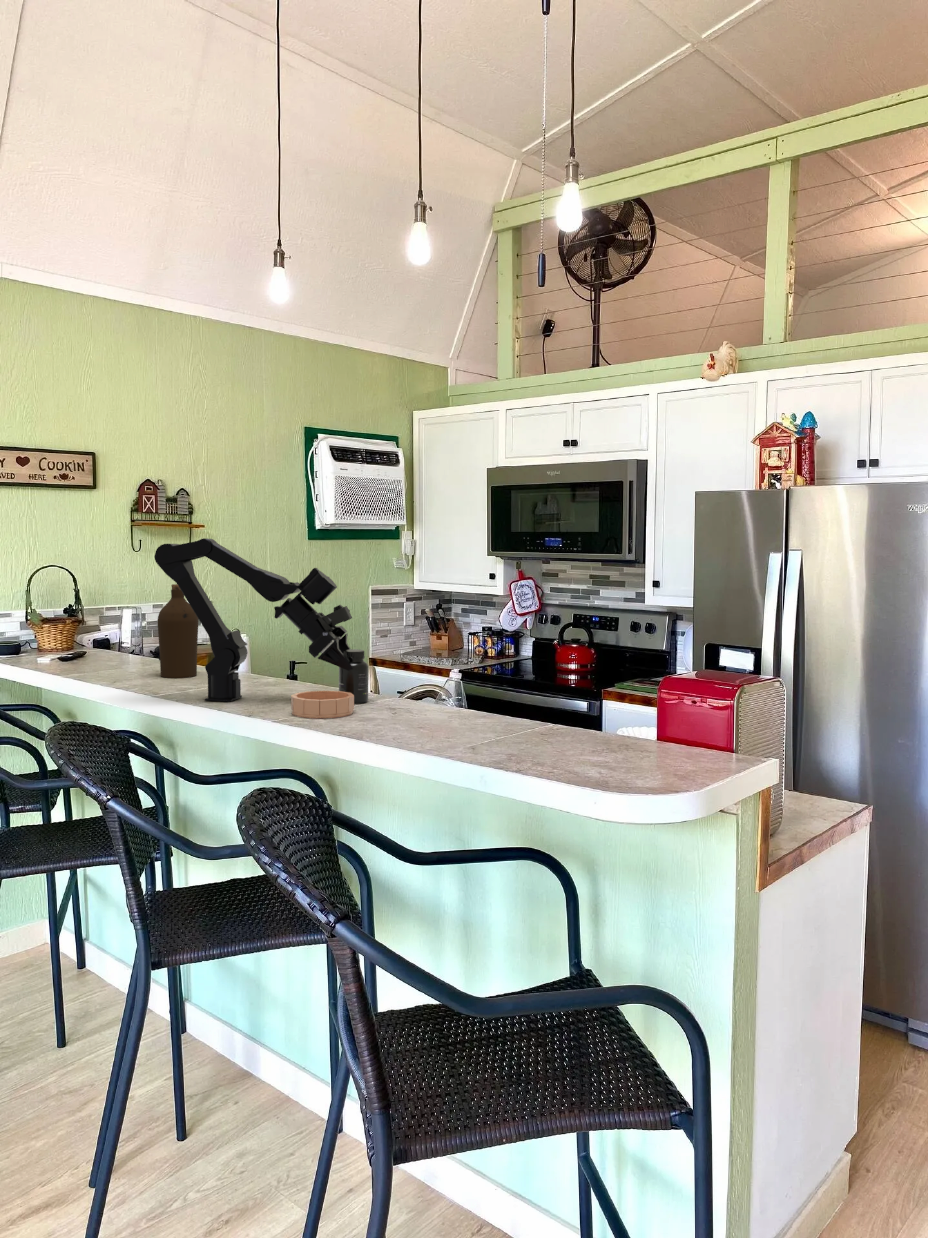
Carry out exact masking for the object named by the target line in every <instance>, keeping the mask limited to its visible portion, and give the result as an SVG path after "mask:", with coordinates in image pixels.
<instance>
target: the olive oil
mask: <svg viewBox="0 0 928 1238" xmlns="http://www.w3.org/2000/svg"><path fill="white" fill-rule="evenodd" d="M170 593H171V594H170V596H171V597H170V598H169V600H168V602H167V603H166V604H165V605H164V606H163V607H162V608H161V609H160V611H159V613H158V616H157V633H158V634H157V635H158V648H159V649H158V650H159V655H158V662H159V665H160V666H159V668H160V669H159V670H160V677H162V678H164V679H166V678H167V679H184V678H194V677H196V676H197V673H198V670H197V669H198V643H199V642H198V640H199V639H198V636H199V619H198V617H197V616H196V614H195V612H194V611H193V609H192V607H191V606H190V604H189V602H188V601H187V599H186V598H185V596H184V594H183V593H182V591H181V589H180V588H179V586H178V584H177V583H174V584H171V589H170Z"/></svg>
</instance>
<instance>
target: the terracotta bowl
mask: <svg viewBox="0 0 928 1238" xmlns="http://www.w3.org/2000/svg"><path fill="white" fill-rule="evenodd" d="M290 700H291V701H290V704H291V705H290V706H291V707H290V708H291V709H290V710H291V715H293V716H295V717H298V718H304V719H335V718H344V717H348V716H351V715H353V714H354V709H355V704H354V695H353V694H352V693H349V692H343V691H339V690H326V689H325V690H308V691H300V692H295V693H293V694H291V695H290Z"/></svg>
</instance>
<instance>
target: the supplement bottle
mask: <svg viewBox="0 0 928 1238" xmlns="http://www.w3.org/2000/svg"><path fill="white" fill-rule="evenodd" d="M343 655H344V656H345V657H346V659H347V660H348V662H349V663H350V664H351V666H352V669H351V670H350V671H348V670H346V669H343V668H341V667H338V691H343V692H349V693H352V694H353V695H354V705H360V704H365V703H367V702H368V701H369V669H370V668H369V667H370V666H369V664H368V663H367V662H366V661H364V659H365V657H366V656H365V650H363V649H356V648H355V649H353V648H352V649H351V648H350V649H349V650H344V652H343Z"/></svg>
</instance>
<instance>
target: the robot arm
mask: <svg viewBox="0 0 928 1238" xmlns="http://www.w3.org/2000/svg"><path fill="white" fill-rule="evenodd" d="M154 552H155V553H154V561H155V563H156V564H157V566H158V567H159V568H160V569H161V570H162V571H163V573H164V574H165V575H166V576H168V578H170V579H171V580H172V581H173V582H174V583H175V584H178V586H179V588H180V589H181V591H182V593H183V594H184V598H185V600H186V601H187V602H188V603H189V604H190V606H191V607H192V609H193V611H194V612H195V614H196V616H197V617H198V622H200V624H201V625H202V627H203V629H204V630H205V633H206V634H207V636H208V638H209V643H210V648H211V651H212V655H213V658H212V659H211V660H210V661H208V663H207V664H206V665H205V667H204V669H205V671H206V673H207V674H206V675H207V697H204V701H208V702H209V701H210V702H211V701H212V702H233V701H236V700H238V699H241V698H243V695H242V693H241V692H242V691H241V685H242V684H241V683H242V682H241V679H240V677H239V676H240V675H239V672H238V671H239V670H240V666H241V664H243V663H244V662H245V660H246V659H247V657H248V648H247V647H246V646H248V643H247V642H245V641H244V639H243V637H242V634H241V633H240V631H239V629H237V630H233V631H231V630H230V629H229V628H228V627H227V626H226V624H225V623H224V621H223V619H222V617H221V616H220V614H219V613H218V611H217V609H216V607H215V606H214V605H213V602H212V601H211V600H210V598H209V596H208V595H207V592H206V591H205V589H204V588H203V586H202V585H201V582H200V581H199V579H198V578H197V576H196V573H195V569H194V564H193V561H194V560H197V559H201V558H205V557H206V558H207V559H209V560H211V562H214V563H215V564H217V565H219V566H220V567H222V568H224V569H226V570H227V571H229V572H230V573H232V574H234V575H235V576H237V577H239V578H241V579H242V580H244V581H245V582H247V583H248V584H249V585H250V586H251V587H252V589H254V591H256V592H257V593H258V594H259V595H261V597H263V598H264V599H265V600H267V601H268V602H271V603H276V602H280V601H283V600H285V601H284V602H283V603H282V604H281V605H280V606H279V605H276V606H274V618H275V619H279V618H281V617H282V616H285V617H286V618H287V619H288V620H289V621H290V622H291V623H292V624H293V625H294V626H295V627H296V628H297V629H298V633H299V634H300V635H304V636H305V637H306V638H307V639H308V640H309V641H310V642H311V644H309V645H308V653H309V654H310V655H311V656H312V657H313V659H315V658H317V660H321V661H323V662H326V663H328V664H331V665H333V666H336V667H338V668H339V667H341V668H343V669H346V670H348V671H350V670H351V669H352V666H351V664H350V663H349V662H348V660H347V659H346V657H345V656H344V655H343V652H344V650H349V649H351V647H350V646H349V644H348V631H347V630H346V629H345V627H344V626H342V625H339V624H341V623H343V622H344V623H345V622H347V621H350V620H352V619H353V616H352V615H351V609H349V608H348V605H346V606H343V605H341V604H338V605H337V606H334V607H333V611H332V612H329V613H328V614H326V615H325V614H324V613H323V612H318V611H317V610H316V609H315V608H314V607H313V606H311V605H315V604H318V605H321V604H322V603H324V601H326V599H327V598H328V597H329V596H330V595H331V594H332V593H333V592H334V591H336V589H338V585H337V584H336V582H334V580H333V579H331V578H330V576H328V575H326V574H325V573H324V572H322V571H321V570H320V569H318V567H314V568H312V569H311V571H309V574H307V576H306V577H304V578H303V580H302V581H301V582H298V581H297V582H294V581H293V582H291V581H290V580H289V579H288V578H287V577H285V576H283V575H280V574H277V573H274V572H272V571H269V570H266V569H263V568H261V567H258V566H256V565H254V564H253V563H251V562H249V561H247V560H246V559H244V558H243V557H241V556H239V555H238V554H236V553H235V552H233V551H232V550H229V549H227V548H226V547H224V546H222V545H221V544H220V543H218V542H217V541H216V540H215V539H212V538H207V537H206V538H200V539H199V540H195V541H191V542H186V543H180V544H179V543H164V544H163V543H162V544H160V545H159V546H158V547H157V548H156V550H155V551H154ZM296 593H297V595H295V596H294V598H290V597H289V596H290V595H292V594H296Z"/></svg>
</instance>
